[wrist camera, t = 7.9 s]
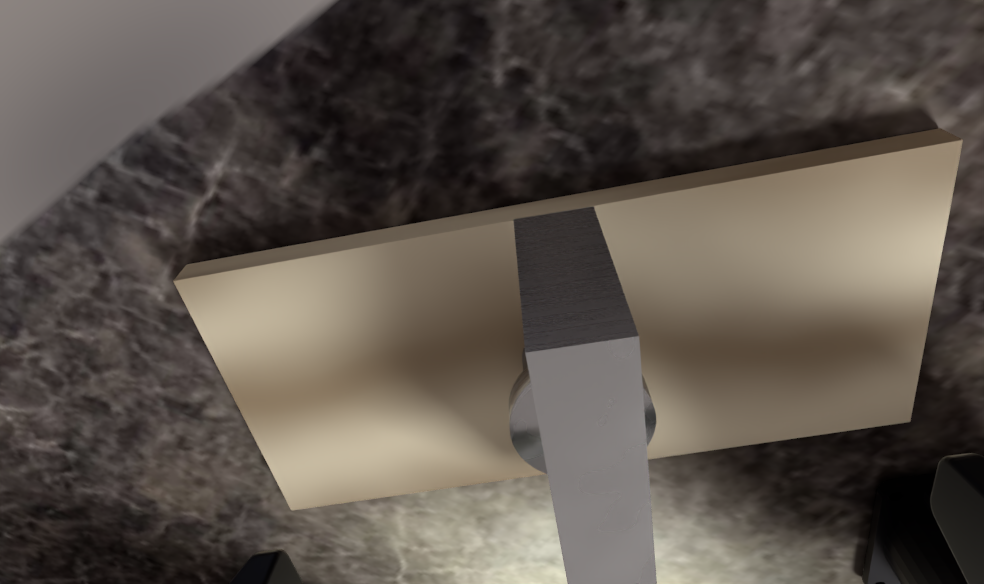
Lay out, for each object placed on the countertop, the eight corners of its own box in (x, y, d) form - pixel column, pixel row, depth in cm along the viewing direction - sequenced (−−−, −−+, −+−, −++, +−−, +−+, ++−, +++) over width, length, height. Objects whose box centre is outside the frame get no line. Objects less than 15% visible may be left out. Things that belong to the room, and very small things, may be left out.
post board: (894, 402, 23) (945, 465, 21) (298, 489, 25) (276, 557, 22) (940, 128, 18) (1016, 167, 15) (186, 264, 20) (142, 319, 17)
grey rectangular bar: (634, 180, 15) (722, 348, 10) (657, 541, 22) (718, 764, 16) (465, 208, 16) (455, 386, 10) (539, 555, 22) (558, 779, 17)
